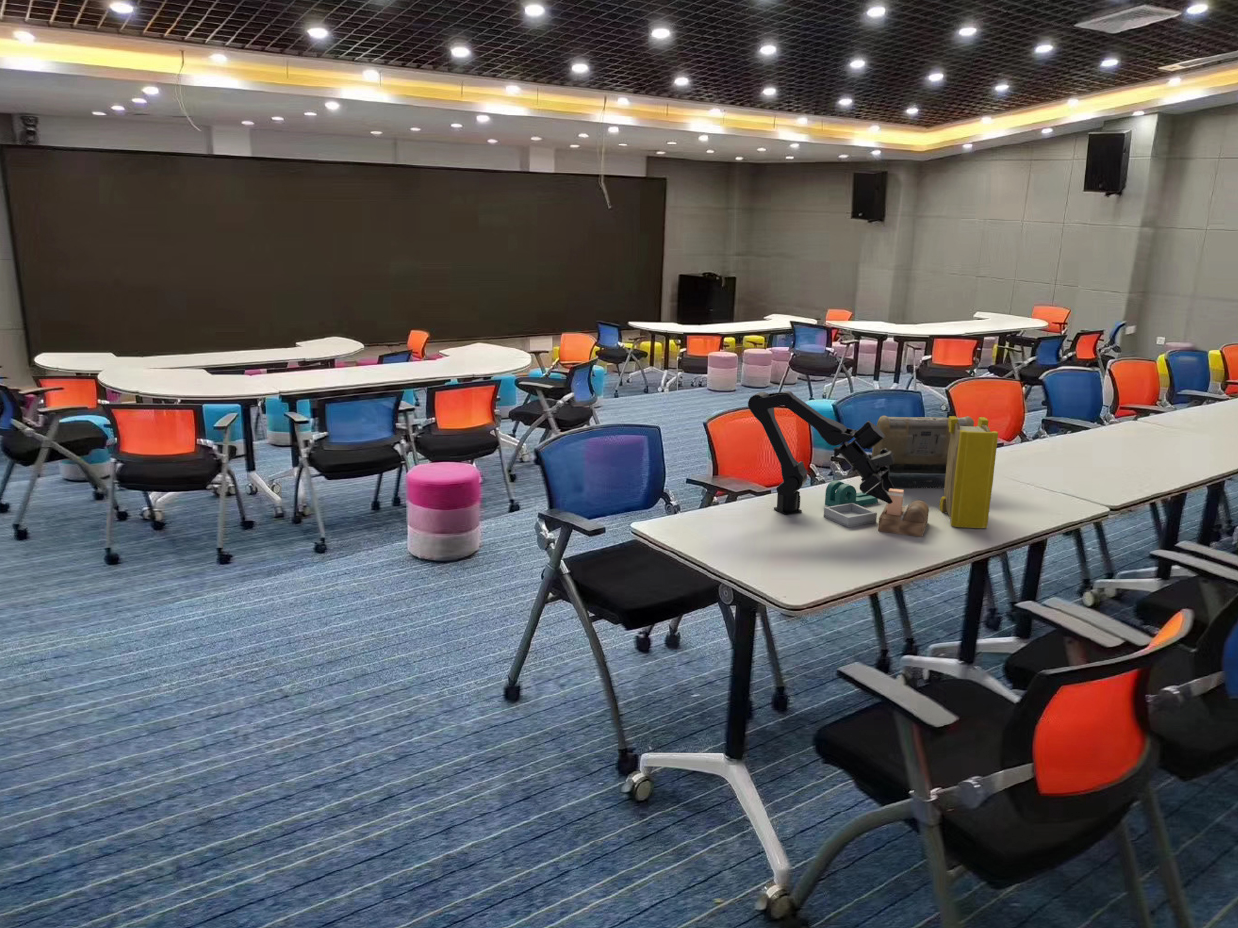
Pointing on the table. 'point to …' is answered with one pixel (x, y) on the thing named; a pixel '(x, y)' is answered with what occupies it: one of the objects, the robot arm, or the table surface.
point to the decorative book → (969, 474)
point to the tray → (850, 514)
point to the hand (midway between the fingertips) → (893, 498)
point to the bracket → (846, 495)
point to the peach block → (895, 502)
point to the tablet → (917, 449)
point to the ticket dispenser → (906, 520)
